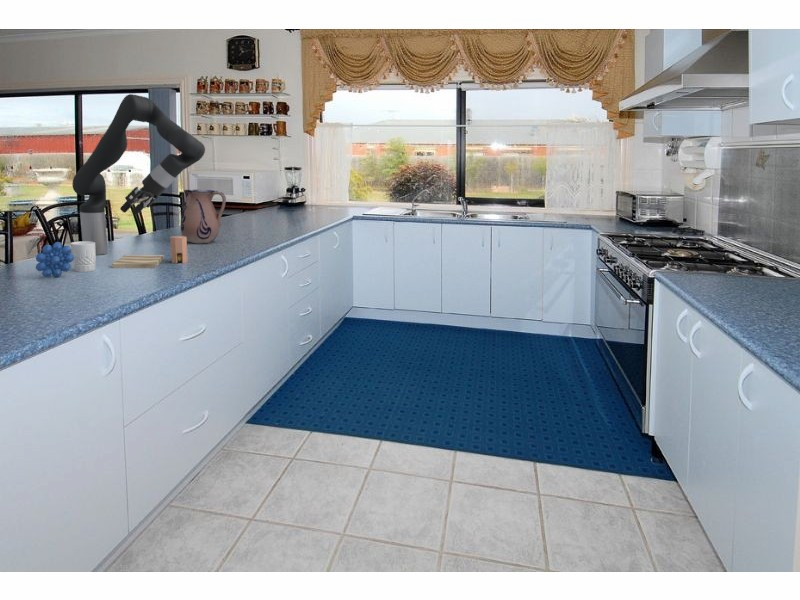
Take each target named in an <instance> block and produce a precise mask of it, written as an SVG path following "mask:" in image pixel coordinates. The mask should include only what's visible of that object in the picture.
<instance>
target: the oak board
mask: <svg viewBox="0 0 800 600" xmlns="http://www.w3.org/2000/svg"><path fill="white" fill-rule="evenodd" d="M164 259H165V255H164V254H163V255H162V254H159V255H157V254H155V255H154V254H153V255H152V254H150V255H149V254H124V255H122V256H121V257H119V258H118V259H117V260H115V261H114V262H113V263H112V264H111V266H112V269H123V268H124V269H129V268H130V269H132V268H133V269H137V268H138V269H143V268H144V269H145V268H147V269H152V268H153V269H154V268H155V269H156V268H157V266H159V264H161V263H162V261H164Z"/></svg>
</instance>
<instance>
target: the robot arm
mask: <svg viewBox="0 0 800 600" xmlns="http://www.w3.org/2000/svg"><path fill="white" fill-rule="evenodd" d="M133 121H135V122H141V123H148V124H150V125H152V126H155V127H156V131H157V133H158V134H159V136H160V137H161V138H163V139H164V140H165V141H166V142H168V143H169V144H170V145H172V147H174V148H175V149H176V150H178V151H179V152H181V153H180V154H174V153H169V154H168V155H166V156H165V158H164V159H163V160H162V161H161V162H160V163H159V164H158V165H157V166H156V167H154V168H153V169H152V170H151V171H150V172H149V173H148V174H147V175H146V176H145V177H144V179H143V180H142V181H141V184H142V187H138V186H135V187H134V188H133V189H132V190H131V191H130V192H129V193H128V194H127V195H126V196H125V197H124V199H125V200H126V202H124V203H123V204H122V205H121V207H120V208H119V209H120V210H121V211H122V213H125V214H126V212H127V211H129V210H130V208H131V207H132V206H133V205H135V204H136V206H135V207H134V208H133V209H132V210H131V212H132V214H133V215H135V216H137V215H139V214H140V213H141V212H142V211H143V209H146V208H147V209H148V208H150V207H151V205H152V204H153V203H155V201H156V200H157V199H158V198H159V196H161V195H162V194H163V193H164V192H165V191H166V189H168V187H170V185H172V184H173V182H174V180H175V179H176V178H177V177H178V176H179V175H180V174H181V172H183V171H185V169H188V168H189V167H191V166H192V165H194V164H196V163H197V162H199V161H200V160H201V159H202V158H203V157H204V155H205V153H206V146H205V145H204V143H202V141H200V140H198V138H196V137H195V136H193V135H192V134H191V133H189V132H187V131H186V130H185V129H183V128H182V127H181V126H180V125H178V124H177V123H176V122H174V121H173V120H172V119H171V118H169V117H168V116H167V115H166V114H165V113H164V112H163V110H162V109H160V107H159V106H158V105H157V104H156V103H155V102H154V101H153V100H152V99H151V98H149V97H147V96H146V97H145V96H142V95H139V94H138V95H137V94H133V93H132V94H131V93H129V94H126V95H125V97H123V99H122V101H121V102H120V104H119V106H118V108H117V110H116V113H115V115H114V117H113V119H112V121H111V123H110V124H109V126H108V128H107V129H106V131H105V133H104V134H103V135H102V136H101V138H100V140H99V141H98V143H97V144H96V146H95V148H94V150H93V151H92V153H90V156H89V157H88V158H87V160H86V162H84V164H82V165H81V167H80V169H78V171H76V173H75V175H74V177H73V179H72V185H71V186H72V189H73V192H75V193H76V194H77V195H79V196H88V199H87V200H86V201H85V202H83V203H81V204H80V205H79V216H80V217H79V218H80V228H81V240H82V241H90V242H95V250H96V256H98V255H99V256H100V255H106V254H107V255H108V252H109V251H108V236H107V235H108V234H107V223H106V221H107V220H106V210H105V209H106V205H107V185H106V184H107V183H106V180H105V178H104V176H103V174H102V172H104V171H105V170H107V169H109V168H111V166H113V165H115V164H116V163H117V162H118V161H120V159H121V158H122V157H123V155H124V153H125V152H126V150H127V148H128V138H127V129H128V128H129V125H130V124H131V122H133Z"/></svg>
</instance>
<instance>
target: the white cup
mask: <svg viewBox="0 0 800 600" xmlns="http://www.w3.org/2000/svg"><path fill="white" fill-rule="evenodd" d="M70 248H71V254H73V256H74V259H73V261H72V263H73V267H74V271H75V272H77V273H79V272H80V273H89V272H94V271H96V262H97V261H96V259H97V258H96V256H97V255H96V250H95V242H90V241H74V242H73V241H72V242H70Z"/></svg>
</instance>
